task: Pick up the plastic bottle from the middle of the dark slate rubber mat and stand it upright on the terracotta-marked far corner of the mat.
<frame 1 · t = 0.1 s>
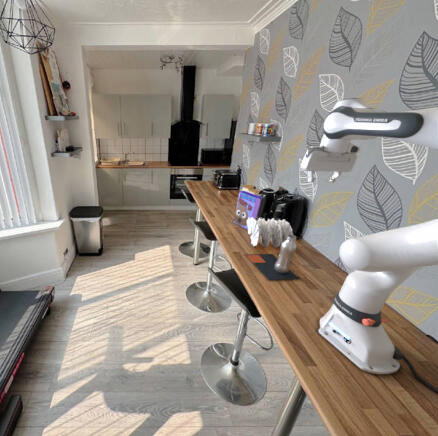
hand: (321, 182, 94), 48 cm above the table, tool pointing down, fingers open, 8 cm apart
mat: (270, 266, 123), on the table
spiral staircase: (266, 246, 143), on the table
cereal box: (244, 226, 168), on the table
plastic bottle: (280, 271, 118), resting on mat
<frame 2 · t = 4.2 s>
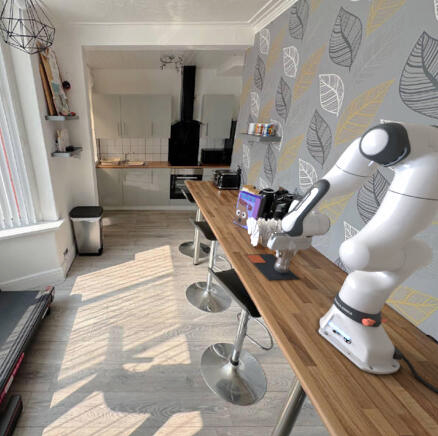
hand: (284, 256, 115), 9 cm above the table, tool pointing down, fingers closed on plastic bottle, 5 cm apart
plastic bottle: (280, 271, 118), resting on mat, touching arm, gripper
everything else where it was.
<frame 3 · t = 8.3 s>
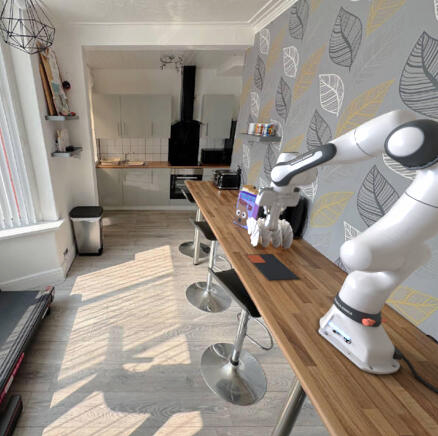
hand: (272, 214, 116), 28 cm above the table, tool pointing down, fingers closed on plastic bottle, 5 cm apart
plastic bottle: (269, 230, 119), point 19 cm above the table, touching arm, gripper
everything else where it was.
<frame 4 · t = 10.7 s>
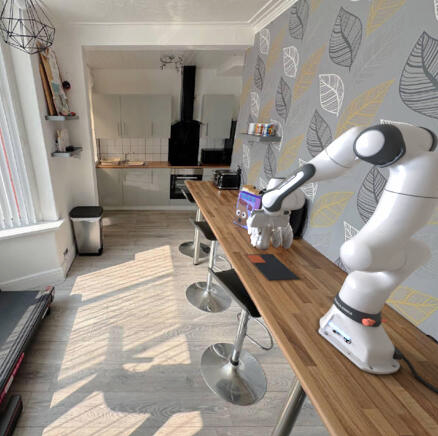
hand: (264, 234, 121), 16 cm above the table, tool pointing down, fingers closed on plastic bottle, 5 cm apart
plastic bottle: (261, 249, 124), point 7 cm above the table, touching arm, gripper
everything else where it was.
when the fingers open (9 cm above the table, at t = 12.7 s): plastic bottle stays where it is, resting on mat.
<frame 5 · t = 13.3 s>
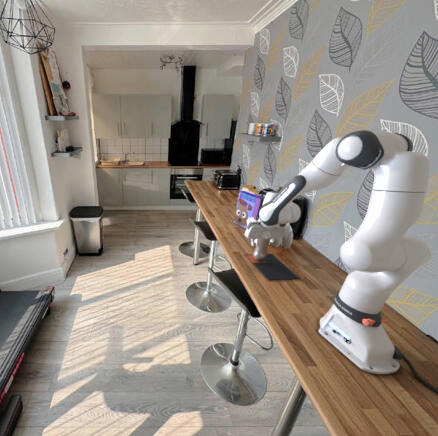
hand: (261, 245, 124), 9 cm above the table, tool pointing down, fingers open, 8 cm apart
plastic bottle: (258, 260, 127), resting on mat
everything else where it was.
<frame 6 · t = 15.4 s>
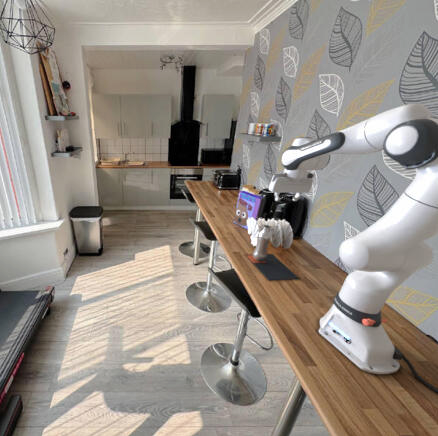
hand: (285, 200, 116), 34 cm above the table, tool pointing down, fingers open, 8 cm apart
nothing on the table moved.
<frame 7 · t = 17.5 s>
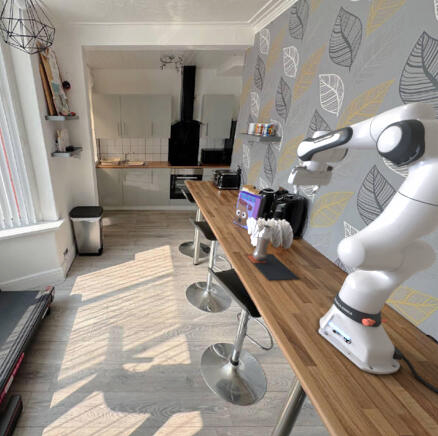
hand: (304, 193, 118), 37 cm above the table, tool pointing down, fingers open, 8 cm apart
nothing on the table moved.
at the end: plastic bottle inside the target area (0.6 cm from its centre), resting on mat; plastic bottle tilted 0°; the gripper is holding nothing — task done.
